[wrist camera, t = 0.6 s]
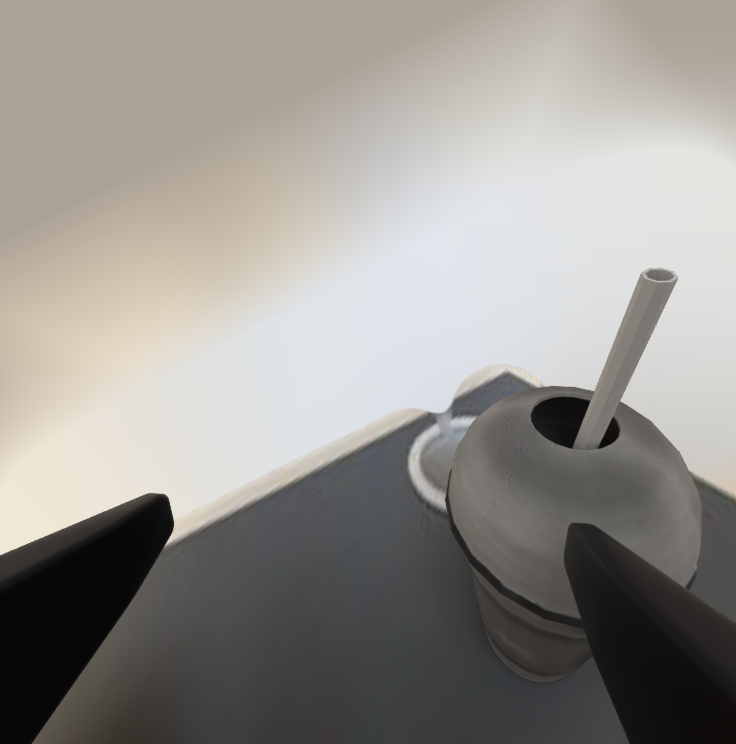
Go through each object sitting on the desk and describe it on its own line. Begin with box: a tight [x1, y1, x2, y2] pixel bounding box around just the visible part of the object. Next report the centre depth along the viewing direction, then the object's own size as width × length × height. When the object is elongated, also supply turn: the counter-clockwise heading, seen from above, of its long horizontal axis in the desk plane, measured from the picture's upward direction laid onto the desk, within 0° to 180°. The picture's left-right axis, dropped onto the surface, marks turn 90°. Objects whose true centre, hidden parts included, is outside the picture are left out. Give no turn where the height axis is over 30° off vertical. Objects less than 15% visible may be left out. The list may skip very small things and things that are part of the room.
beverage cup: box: [445, 268, 702, 683], centre depth 13 cm, size 7×7×20 cm
